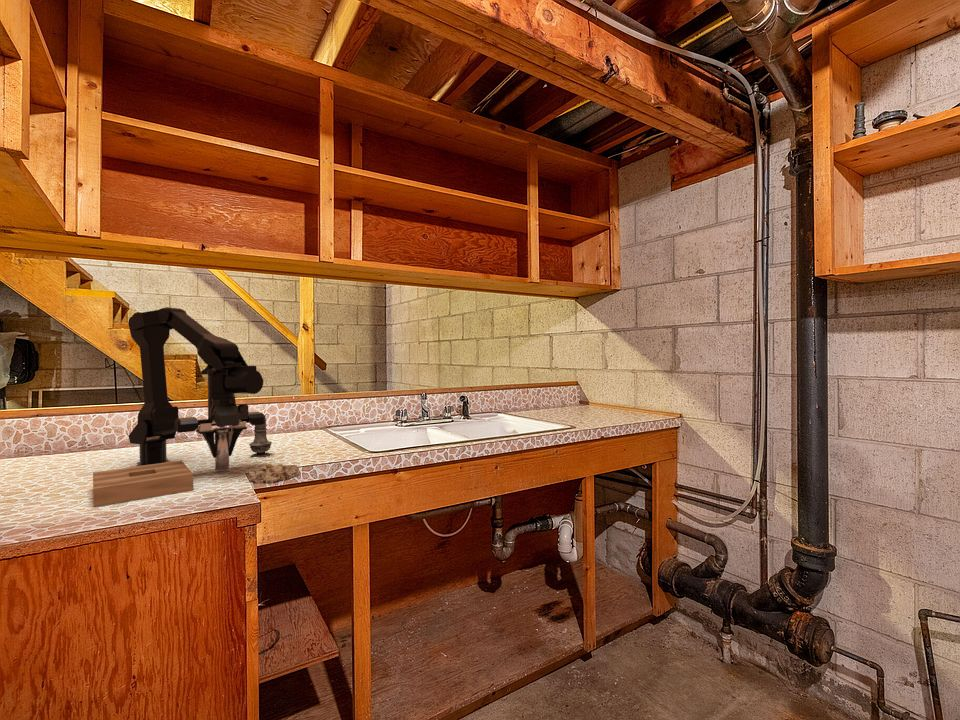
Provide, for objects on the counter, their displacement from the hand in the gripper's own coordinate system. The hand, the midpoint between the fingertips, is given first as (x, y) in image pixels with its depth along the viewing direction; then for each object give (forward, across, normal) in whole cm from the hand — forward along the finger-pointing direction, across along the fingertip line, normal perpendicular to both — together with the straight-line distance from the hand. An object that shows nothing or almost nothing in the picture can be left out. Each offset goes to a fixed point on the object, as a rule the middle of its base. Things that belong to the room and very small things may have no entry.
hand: (222, 456), depth 110 cm
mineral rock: (+4, +8, -15) cm, 17 cm away
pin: (+3, 0, 0) cm, 3 cm away
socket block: (+4, -16, -5) cm, 17 cm away
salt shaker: (+4, +12, +12) cm, 17 cm away
